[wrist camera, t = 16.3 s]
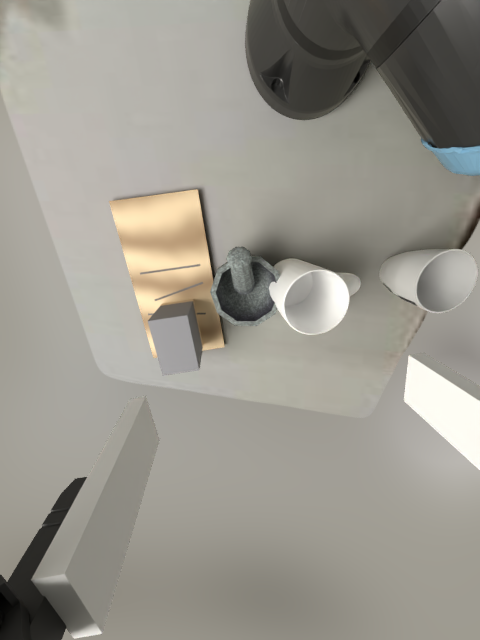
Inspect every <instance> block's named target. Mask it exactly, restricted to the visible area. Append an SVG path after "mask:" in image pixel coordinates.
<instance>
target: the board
mask: <svg viewBox="0 0 480 640" xmlns="http://www.w3.org/2000/svg"><path fill="white" fill-rule="evenodd" d="M109 203H110V206H111V210H112V213H113V217H114V220H115V224H116V227H117V231H118V234H119V238H120V241H121V245H122V249H123V252H124V256H125V259H126V263H127V266H128V270H129V273H130V277H131V280H132V284H133V287H134V291H135V294H136V298H137V301H138V305H139V308H140V312H141V315H142V319H143V322H144V326H145V329H146V333H147V337H148V340H149V344H150V347H151V351H152V354H153V358H157V353H156V350H155V346H154V343H153V339H152V335H151V332H150V328H149V325H148V320H149V319H150V318H151V316H152V315H153V314H154V313H155V311H156V310H157V309H158V308H159V307H160V305H161V304H163V303H170V302H177V301H184V300H191V299H194V303H195V308H196V313H197V317H198V322H199V327H200V332H201V337H202V342H203V349H202V351H203V350H210V349H216V348H223V347H224V339H223V333H222V328H221V322H220V316H219V314H218V313H217V311H216V308H215V305H214V302H213V299H212V296H211V293H210V291H211V287H212V284H213V275H212V269H211V263H210V257H209V251H208V245H207V239H206V233H205V228H204V222H203V216H202V210H201V204H200V198H199V192H198V189H196V190H189V191H181V192H174V193H167V194H159V195H152V196H145V197H137V198H130V199H123V200H115V201H109Z"/></svg>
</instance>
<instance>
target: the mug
mask: <svg viewBox="0 0 480 640" xmlns="http://www.w3.org/2000/svg"><path fill="white" fill-rule="evenodd" d="M273 267H274V268H275V269H276V270H277V271H279V275H280V278H279V279H278V281H277V283H275V282H271V284H270V286H269V291H270V296H271V298H272V299H273V301H274V302H275V305H276V307H277V309H278V311H279V312H280V313H281V315H282V316H283V318H284V319H285V320H286V321H287V323H288V324H289V325H290V326H291V327H292V328H293V329H294V330H296V331H298V332H300V333H304V334H311V335H314V334H321V333H324V332H327V331H329V330H330V329H332V328H333V327H335V326H336V325H337V324H338V323H339V322H340V321H341V320H342V319H343V317H344V316H345V314H346V311H347V309H348V305H349V296H351V295H353V294H355V293H356V292H357V291H358V290H359V288H360V285H361V281H360V279H359V277H357V276H356V275H354V274H351V273H335V272H333V271H331V270H328V269H325V268H322V267H319V266H316V265H313V264H310V263H308V262H305V261H302V260H299V259H293V258H291V259H285V260H282V261H280V262H278V263H277V264H276V265H274V266H273Z"/></svg>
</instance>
